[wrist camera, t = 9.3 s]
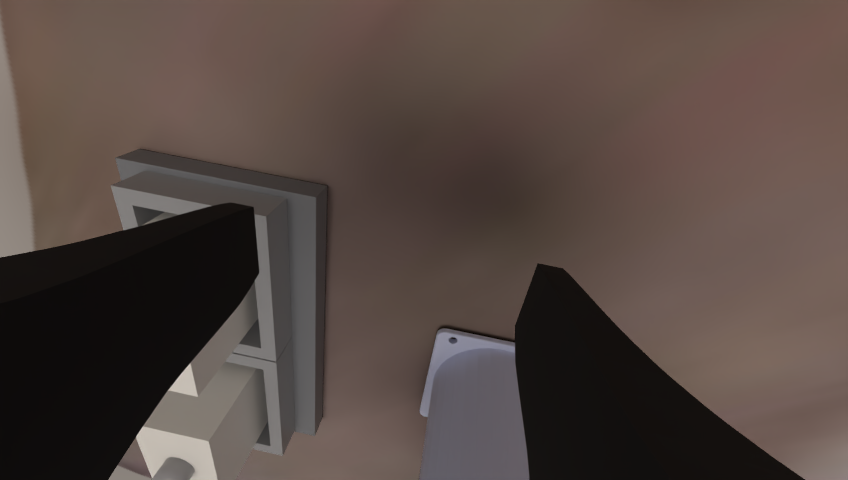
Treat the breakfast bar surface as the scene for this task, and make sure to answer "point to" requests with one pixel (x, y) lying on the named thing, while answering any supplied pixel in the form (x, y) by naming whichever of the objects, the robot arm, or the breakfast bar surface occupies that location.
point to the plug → (216, 342)
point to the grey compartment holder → (265, 341)
